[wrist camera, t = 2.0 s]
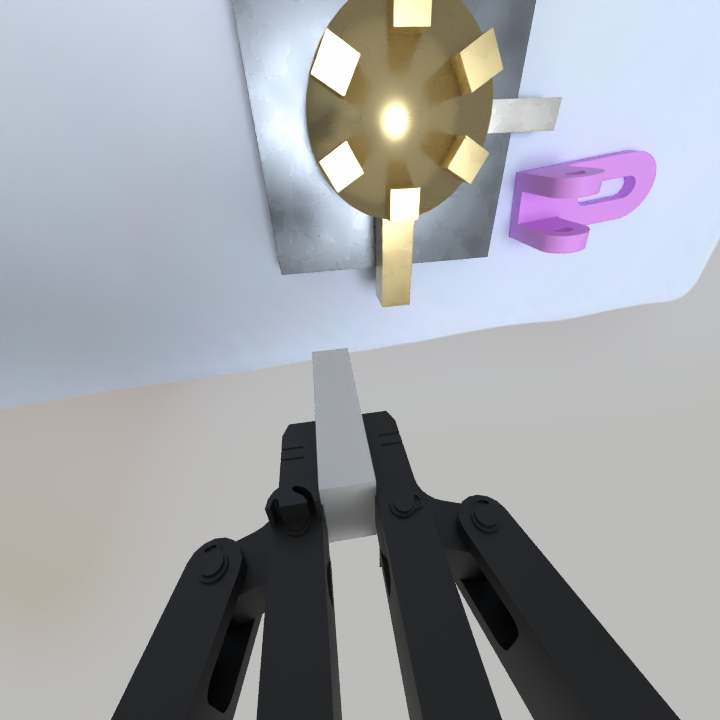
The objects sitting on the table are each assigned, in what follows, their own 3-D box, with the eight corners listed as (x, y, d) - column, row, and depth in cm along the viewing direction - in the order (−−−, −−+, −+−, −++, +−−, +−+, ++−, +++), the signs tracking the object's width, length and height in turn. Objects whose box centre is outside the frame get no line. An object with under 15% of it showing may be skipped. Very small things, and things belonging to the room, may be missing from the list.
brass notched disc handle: (292, -4, 19) (290, -40, 15) (487, -4, 20) (529, -36, 16) (324, 298, 30) (328, 321, 26) (449, 286, 31) (469, 306, 27)
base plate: (282, 265, 30) (281, 275, 28) (217, -104, 18) (207, -135, 16) (508, 246, 32) (522, 253, 30) (583, -91, 20) (615, -118, 18)
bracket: (508, 236, 32) (553, 256, 26) (515, 172, 29) (568, 179, 23) (631, 210, 32) (701, 225, 27) (651, 145, 29) (736, 146, 24)
